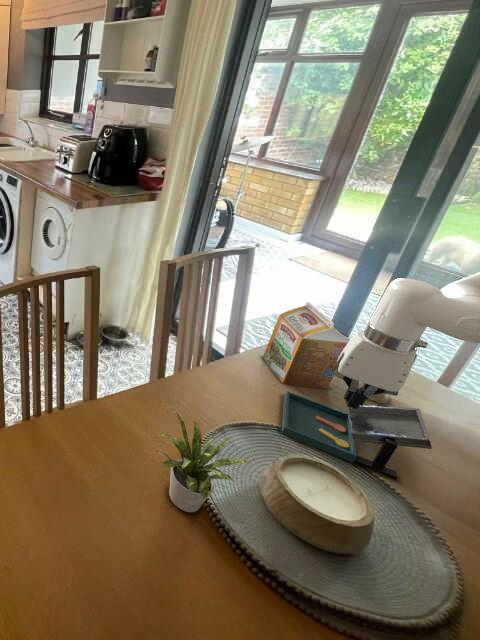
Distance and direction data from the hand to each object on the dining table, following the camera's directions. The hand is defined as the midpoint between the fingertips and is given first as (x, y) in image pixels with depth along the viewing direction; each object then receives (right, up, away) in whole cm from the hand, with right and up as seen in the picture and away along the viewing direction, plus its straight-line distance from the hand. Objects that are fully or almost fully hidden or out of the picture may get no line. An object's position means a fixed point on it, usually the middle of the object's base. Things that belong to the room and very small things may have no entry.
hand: (350, 404), depth 91 cm
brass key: (-6, -7, -2) cm, 9 cm away
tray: (-7, -6, +2) cm, 9 cm away
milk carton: (+2, +2, +19) cm, 19 cm away
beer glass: (+16, -2, +11) cm, 20 cm away
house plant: (-46, -12, -14) cm, 50 cm away
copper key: (-3, -5, +1) cm, 6 cm away
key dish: (+1, -3, -6) cm, 7 cm away
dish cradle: (+1, -8, -4) cm, 9 cm away
